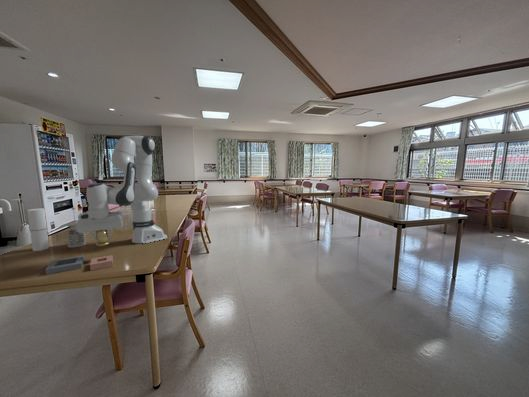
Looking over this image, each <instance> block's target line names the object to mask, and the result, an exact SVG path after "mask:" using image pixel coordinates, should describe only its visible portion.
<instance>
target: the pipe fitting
mask: <svg viewBox="0 0 529 397" xmlns="http://www.w3.org/2000/svg"><path fill="white" fill-rule="evenodd" d="M107 234H108V229H107V230H99V231H95V235H96V238H97V239H96V244H95V245H96V247H105V246H107V245H108V246H109V244H110V241H109V237H108V235H107Z"/></svg>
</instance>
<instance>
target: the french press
mask: <svg viewBox="0 0 529 397" xmlns="http://www.w3.org/2000/svg"><path fill="white" fill-rule="evenodd" d="M71 210H72V211H73V213H75V210H76V207H71ZM73 219H74V221H73V222H70V223H68V224H67V225H66V227H69V228H66V229H65V231H64V234H63V235H64V238H65V239H67V240H68V245H67V248H79V247H82V246H85V245H87V242H86V241H85V232H84V233H78V232H77V229H76V226H77V221H76V217H75V216H73ZM70 227H71V228H70ZM72 227H73V228H74V229H72ZM66 231H67V232H66ZM66 234H67V235H66Z"/></svg>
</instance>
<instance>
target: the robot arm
mask: <svg viewBox="0 0 529 397" xmlns="http://www.w3.org/2000/svg"><path fill="white" fill-rule="evenodd" d="M155 148H156V142H155V140H154V139H153V137H150V136H147V135H145V136H144V135H123V136H121V137H120V138H119V139H118V141H117V143H116V144H115V146H114V148H113V152H112V155H111V163H112V164H113V166H114V167H115V168H117V169H119V170H121V171H122V172H123V182H122V186H121V187H111V186H108V185H106V184H105V183H104V182H96V183H95V182H94V183H90V184H88V185H87V187H86V201H87V204H88V207H87V208H88V210H87V211H83V212H81V213H79V214H78V215H77V218H78V220H77V221H76V222H77V226H75V227H76V229H77V232H78V233H84V234H85V233H89V235H90V236H91V237H92V240H97V238H96V234H94V232H96V231H99V230H107V231H108V230H109V232H107V235H108V238H111V237H112V233H113V231H114V230H113V229H120V228H123V227H124V222H123V217H124V214H123V212H121V211H110V207H109V205H111V206H112V205H113V206H114V205H115V206H124V207H127V206H128V207H129V206H130V208H131V214H132V223H131V225H132V230H133V231H132V238H131V243H134V244H142V243H143V244H142V245H144V244H145V243H146V244H148V243H149V244H150V242H151V243H155V242H159V240H160V241H164V240H163V239H165V240H167V239H168V235H167V234H165V233H164V230H163V229H162V227H159V226H158V225H156V224H157V222H156V221H155V220H154V219H152V214H151V213H152V212H151V208H150V207H149V206H148V205H147V204H146V202H153V201H155V200H157V199H158V197H159V190H158V189H157V187H155V185H154V183H153V178H152V177H153V176H152V175H153V174H152V171H153V152H154V151H155ZM136 181H137V184H136ZM166 238H167V239H166ZM154 241H155V242H154ZM146 244H145V245H146Z"/></svg>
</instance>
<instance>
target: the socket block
mask: <svg viewBox="0 0 529 397" xmlns="http://www.w3.org/2000/svg"><path fill="white" fill-rule="evenodd" d="M84 263H85V254H82V255H77V256H69V257H65V258H64V257H63V258H58V259H52V260H51V261H50V263H49V264H48V265H47V267H46V268H45V270H44V271H45V275H52V274H56V273H62V272H67V271H73V270H74V271H75V270H80V269H82V268H83V266H84Z"/></svg>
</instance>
